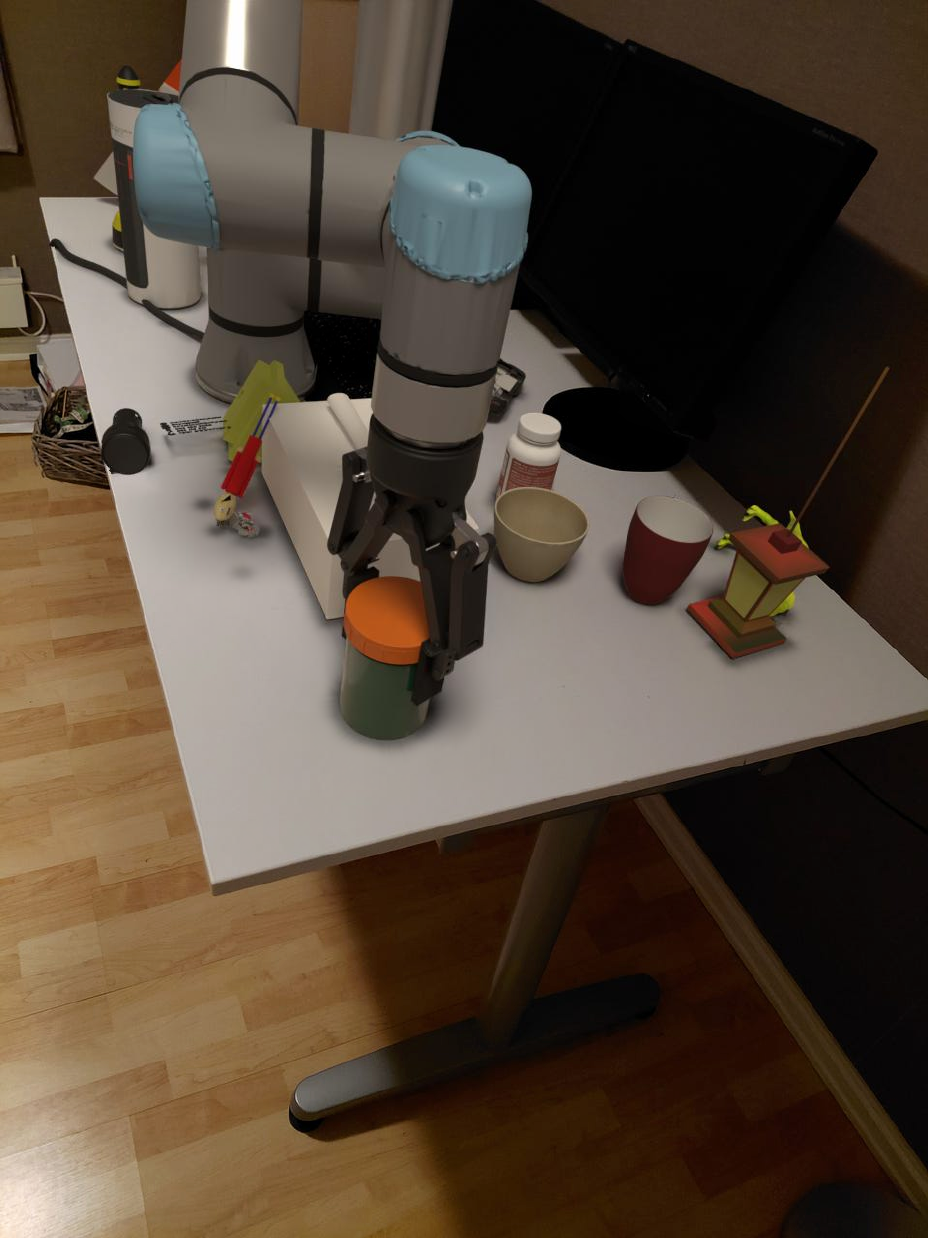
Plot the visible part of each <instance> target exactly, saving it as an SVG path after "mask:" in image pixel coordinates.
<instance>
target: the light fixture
mask: <svg viewBox="0 0 928 1238" xmlns="http://www.w3.org/2000/svg"><path fill="white" fill-rule="evenodd" d="M889 370H890V367H889V366H885V368H884V370H883V371H882V373H881V375H880V376H879V378H878V380H877V381H876V383H875V385H874V386H873V388H872V390H871V392H870V393H869V395H868V397H867V398H866V400H865V402H864V404H863V405H862V407H861V409H860V410H859V412H858V414H857V416H856V417H855V419H854V421H853V422H852V424H851V426H850V428H849V429H848V431H847V432H846V434H845V436H844V438H843V439H842V441H841V442H840V445H839V446H838V447H837V450H836V451H835V453H834V454H833V457H832V458H831V460H830V462H829V463H828V464H827V467H826V468H825V470H824V472H823V473H822V475H821V477H820V478H819V480H818V481H817V483H816V485H815V488H813V490H812V492H811V494H810V496H809V497H808V499H807V501H806V502H805V504H804V505H803V507H802V509H801V511H800V512H799V514H798V516H797V517H796V521H795V523H794V524H793V526H792V528H791V529H790V530H789V529H786V528H787V527H786V526H785V525H784V524H782V523H781V522H778V524H773V525H768V526H767V525H763V526H758V527H753V528H748V529H747V528H746V529H743V530H742V529H741V530H737V531H732V532H730V533H729V534H730V536H729V539H728V540H729V541H730V542H731V543H732V544H731V545H733V546H734V547H735V548H736V551H735V554H734V559H733V562H732V566H731V569H730V571H729V575H728V579H727V583H726V586H725V588H724V592H723V595H720V596H716V597H712V598H708V599H704V600H699V601H696V602H692V603H689V604H688V605H687V607H686V610H687V611H688V612H689V613H690V614H691V616H692V617H693V618H694V619H695V620H696V621H697V622H698V623H699V624H700V625H701V626H702V628H703V629H705V631H706V632H707V633H708V634H709V635H710V637H712V638H713V640H714V641H715V642H716V643H717V644H718V645H719V646H720V647H721V648H722V649H723V650H724V652H726V654H728V655H729V657H731V659H736V658H739V657H743V656H746V655H749V654H753V653H757V652H759V651H763V650H767V649H771V648H774V647H778V646H780V645H784V644H785V643H786V641H787V637H786V636H785V635H784V634H783V633H782V632H781V631H780V630H779V629H778V628H777V627H776V626H777V623H776V622H775V621H774V620H773V618H772V617H769V616H770V615H771V614H772V613H773V611H774V610H775V609H776V608H777V607H778V606H779V605H780V604H781V603H782V602H783V601H784V600H785V599H786V598H787V597H788V596H789V595H790V594H791V593H792V592H794V591H795V590H796V588H798V587H799V586H800V585H801V584H802V582H803V581H805V579H807V578H811V577H815V576H820V575H823V574H825V573H826V572H827V571H828V570H829V569H830V568H831V567H830V566H829V565H828V564H827V563H826V562H825V561H824V560H822V559H821V558H820V557H819V556H818V555H817V554H815V553H814V552H813V551H812V550H811V549H810V548H809V546H808V547H806V546H805V545H804V544H803V543H802V541H801V540H800V539H799V538H798V537H797V536H796V535H795V534H794V533H792V532H793V530H794V529H795V527H796V525H797V524H798V522H799V523H800V521H801V518H803V517H802V516H803V515H804V514H805V512H806V510H807V508H808V507H809V505H810V503H811V501H812V500H813V499H814V497H815V495H816V493H817V491H818V490H819V488H820V486H821V484H822V483H823V481H824V480H825V478H826V476H827V475H828V473H829V471H830V469H831V468H832V467H833V465H834V463H835V462H836V460H837V458H838V456H839V455H840V452H841V451H842V449H843V448H844V446H845V444H846V442H847V441H848V439H849V438H850V436H851V434H852V432H853V431H854V429H855V427H856V426H857V424H858V422H859V421H860V419H861V417H862V415H863V414H864V413H865V411H866V410H867V409H866V408H867V407H868V405H869V404H870V402H871V401H872V398H873V397H874V395H875V393H876V392H877V390H878V388H879V387H880V385H881V384H882V382H883V380H884V378H885V377H886V375H887V374H888V371H889Z"/></svg>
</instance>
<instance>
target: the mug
mask: <svg viewBox="0 0 928 1238" xmlns="http://www.w3.org/2000/svg"><path fill="white" fill-rule="evenodd" d="M626 533H627V534H626V540H625V547H624V552H623V559H622V576H623V582H624V586H625V590H626V593H627V595H629V597H630V598H631V599H632V600H634V601H635V602H637V603H638V604H639V603H640V604H643V605H646V606H647V605H648V606H654V605H657V604H660V603H662V602H663V601H665V600H666V599H667V598H669V597H671V596H672V595H674V594H675V593H677V591H678V590H679V589H680V588H681V587H682V586H683V584H684V583H685V582H686V580H687V579H688V578H689V576H690V575H691V573H692V572H693V571H694V569H695V568H696V566H697V565H698V564H699V562H700V561H701V559H702V558H703V556H704V554H705V552H706V551H707V548H708V546H709V544H710V541H711V540H712V537H713V534H714V524H713V522H712V520H711V519H710V518H709V516H708V515H707V514H706V513H705V512H704V511H703V510H701V509H700V508H698V507H697V506H695V505H694V504H693V503H690V502H688V501H685V500H682V499H680V498H676V497H672V496H667V495H652V496H647V497H645V498H643V499H641V500H640V501H639V502H638V503H637V505H636V507H635V509H634V511H633V514H632V517H631V519H630V522H629V525H628V529H627V532H626Z"/></svg>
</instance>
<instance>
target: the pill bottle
mask: <svg viewBox="0 0 928 1238" xmlns="http://www.w3.org/2000/svg"><path fill="white" fill-rule="evenodd" d="M561 431H562V424H561V422H560V421H559V420H558V419H556V418H555V417H553V416H551V415H550V414H549V415H548V414H545V413H541V412H527V413H524V414H522V415H521V416H520V417H519V421H518V424H517V431H515V432H514V433H512V434H511V435H510V436H509V438H508V439H507V444H506V448H505V453H504V457H503V461H502V466H501V470H500V474H499V480H498V485H497V489H496V492H495V493H496V494H495V501H496V500H497V498H498V497H499V496H500V495H501V494H502V493H504V492H506V491H508V490H511V489H514V488H519V487H537V488H543V489H548V490H551V491H552V489H553V485H554V481H555V477H556V473H557V470H558V466H559V463H560V459H561V454H562V448H561V444H560V443H559V441H558V440H559V439H560V436H561Z"/></svg>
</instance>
